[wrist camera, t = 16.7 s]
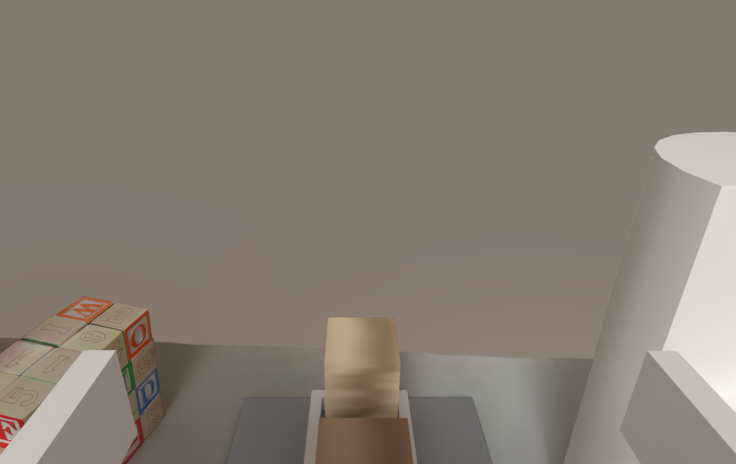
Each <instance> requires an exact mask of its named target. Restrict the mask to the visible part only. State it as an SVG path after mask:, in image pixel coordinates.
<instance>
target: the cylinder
mask: <svg viewBox="0 0 736 464" xmlns="http://www.w3.org/2000/svg"><path fill="white" fill-rule="evenodd" d="M647 351H678V352H679V354H680V355H681V356H682V357H683V358H684V359H685V360H686V361H687V362H688V363H689V364H690V365H691V366H692V367H693V368H694V369H695V370H696V371H697V373H698V374H699V375H700V376H701V377H702V378H703V379H704V380H705V381H706V382H707V383H708V384H709V385H710V386H711V387H712V388H713V389H714V390H715V392H716V393H717V394H718V395H719V396H720V397H721V398H722V399H723V400H724V401H725V402H726V403H727V404H728V405H729V406H730V407H731V408H732V409H733V411H734V412H735V413H736V132H703V133H702V132H701V133H689V134H681V135H673V136H670V137H667V138H664V139H661V140H659V141H658V143H657V144H656V146H655V148H654V151H653V154H652V158H651V161H650V165H649V168H648V171H647V175H646V178H645V182H644V185H643V189H642V192H641V196H640V199H639V203H638V206H637V210H636V213H635V217H634V220H633V224H632V227H631V230H630V234H629V237H628V241H627V244H626V248H625V252H624V255H623V259H622V262H621V265H620V269H619V272H618V276H617V279H616V283H615V286H614V290H613V293H612V296H611V300H610V304H609V307H608V311H607V314H606V317H605V321H604V324H603V328H602V331H601V335H600V338H599V342H598V345H597V348H596V352H595V355H594V359H593V362H592V366H591V369H590V373H589V376H588V380H587V383H586V387H585V390H584V394H583V397H582V401H581V404H580V407H579V411H578V414H577V418H576V421H575V425H574V428H573V432H572V435H571V439H570V442H569V446H568V449H567V453H566V456H565V460H564V463H563V464H641V463H640V462H639V460H638V459H637V457H636V455H635V454H634V452H633V451H632V449H631V448H630V446H629V444H628V443H627V441H626V440H625V438H624V436H623V435H622V433H621V432H620V427H621V424H622V421H623V419H624V416H625V413H626V410H627V407H628V404H629V401H630V399H631V396H632V393H633V390H634V387H635V384H636V381H637V379H638V376H639V373H640V370H641V367H642V364H643V361H644V358H645V356H646V353H647Z"/></svg>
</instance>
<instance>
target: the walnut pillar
mask: <svg viewBox="0 0 736 464" xmlns="http://www.w3.org/2000/svg"><path fill="white" fill-rule="evenodd" d="M315 464H413V457H412V449H411V441H410V433H409V425H408V418H319V426H318V437H317V448H316V459H315Z"/></svg>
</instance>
